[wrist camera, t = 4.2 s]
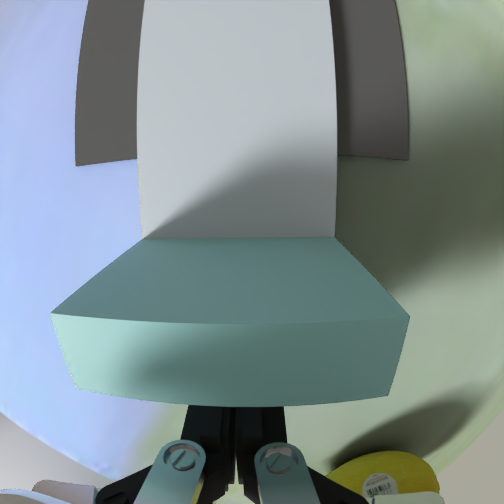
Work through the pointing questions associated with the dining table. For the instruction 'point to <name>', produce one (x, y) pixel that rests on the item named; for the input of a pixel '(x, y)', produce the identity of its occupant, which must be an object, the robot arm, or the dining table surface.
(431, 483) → the lemon
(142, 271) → the sled
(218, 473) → the robot arm
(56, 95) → the dining table surface
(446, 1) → the dining table surface
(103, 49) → the mat
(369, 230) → the dining table surface
